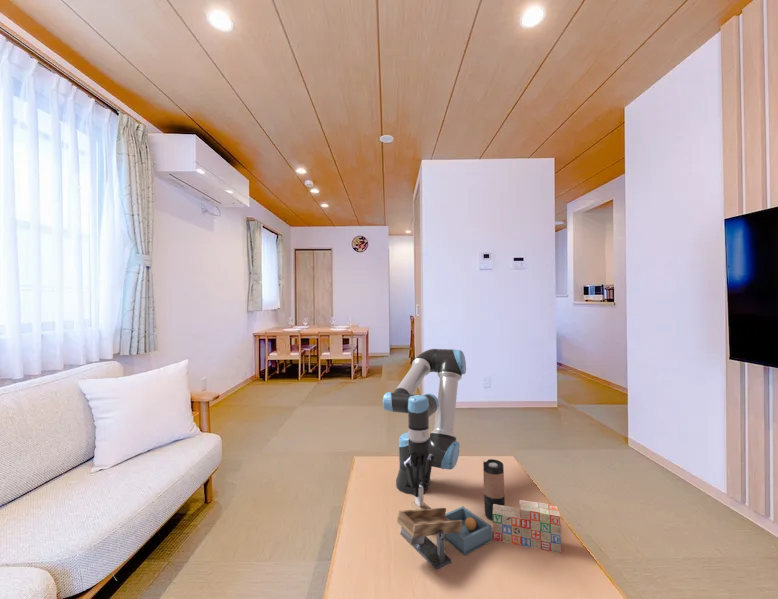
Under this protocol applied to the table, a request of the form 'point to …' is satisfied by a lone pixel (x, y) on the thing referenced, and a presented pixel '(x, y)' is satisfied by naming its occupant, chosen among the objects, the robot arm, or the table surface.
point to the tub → (468, 532)
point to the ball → (470, 524)
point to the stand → (434, 551)
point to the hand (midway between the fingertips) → (419, 504)
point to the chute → (425, 523)
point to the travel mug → (493, 486)
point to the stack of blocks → (528, 525)
